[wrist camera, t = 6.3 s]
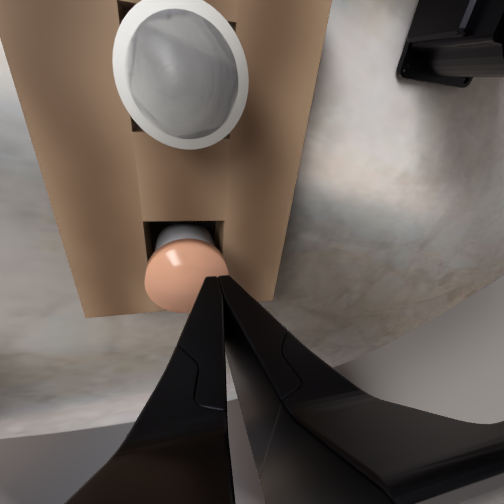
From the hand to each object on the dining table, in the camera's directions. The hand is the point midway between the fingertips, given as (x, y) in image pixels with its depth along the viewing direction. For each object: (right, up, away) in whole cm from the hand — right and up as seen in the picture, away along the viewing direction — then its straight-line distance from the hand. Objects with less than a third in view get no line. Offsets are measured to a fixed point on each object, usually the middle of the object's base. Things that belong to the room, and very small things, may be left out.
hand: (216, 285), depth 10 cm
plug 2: (-3, +2, +9) cm, 10 cm away
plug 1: (-2, +10, +4) cm, 10 cm away
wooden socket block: (-4, +7, +9) cm, 12 cm away
